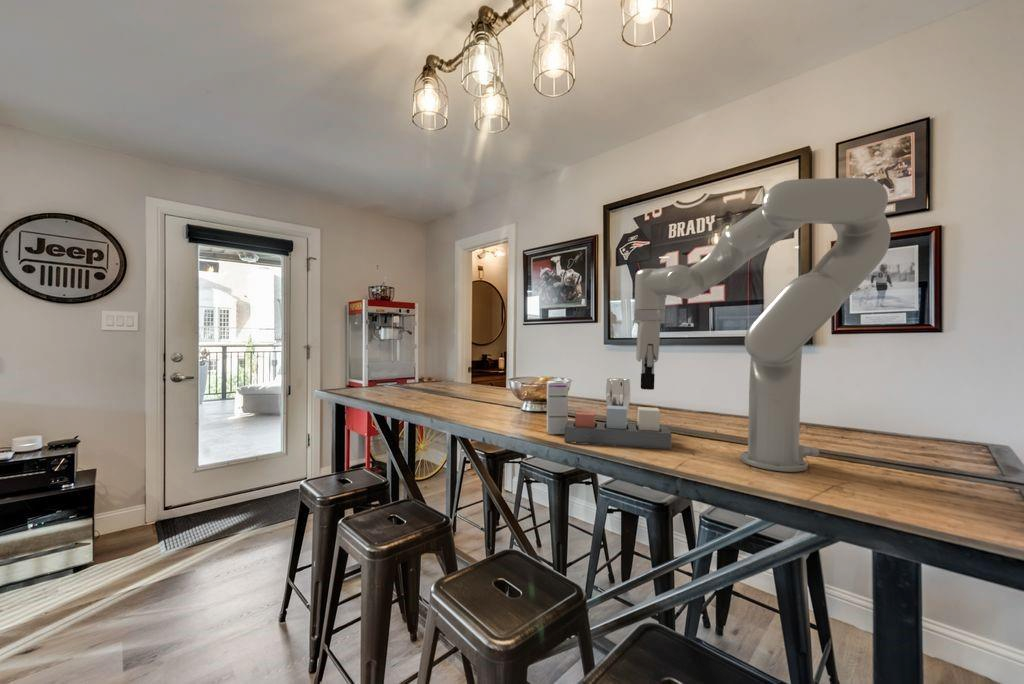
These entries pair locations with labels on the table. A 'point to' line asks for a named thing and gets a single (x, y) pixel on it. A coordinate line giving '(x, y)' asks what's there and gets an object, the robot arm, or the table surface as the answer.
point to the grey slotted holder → (618, 436)
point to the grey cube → (616, 417)
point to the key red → (585, 419)
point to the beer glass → (618, 392)
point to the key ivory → (648, 419)
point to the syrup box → (557, 406)
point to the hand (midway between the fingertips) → (647, 388)
